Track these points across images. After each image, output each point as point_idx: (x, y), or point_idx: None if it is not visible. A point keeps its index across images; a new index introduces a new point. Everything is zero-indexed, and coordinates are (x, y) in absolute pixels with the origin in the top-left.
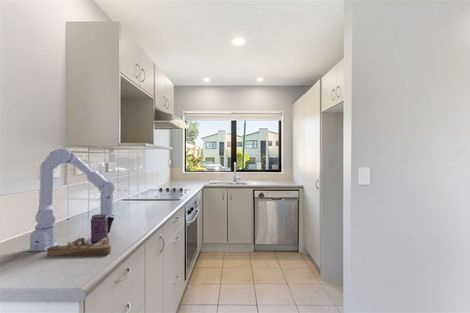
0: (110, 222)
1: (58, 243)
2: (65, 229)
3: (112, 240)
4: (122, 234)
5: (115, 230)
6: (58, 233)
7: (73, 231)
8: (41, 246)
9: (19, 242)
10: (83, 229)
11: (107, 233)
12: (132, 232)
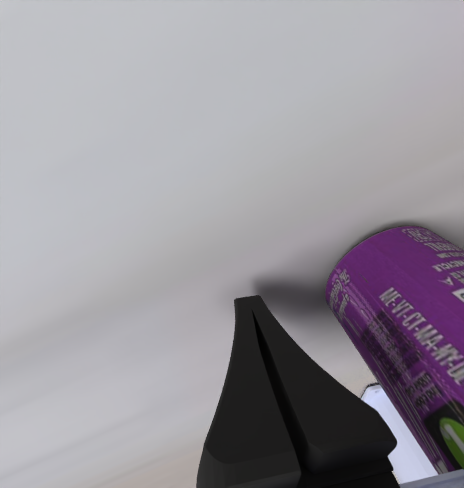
0: (316, 393)
1: (376, 390)
2: (131, 476)
3: (388, 183)
4: (175, 187)
5: (50, 318)
6: (197, 460)
7: (156, 450)
8: None
9: None
10: (107, 446)
11: (433, 258)
12: (43, 85)
